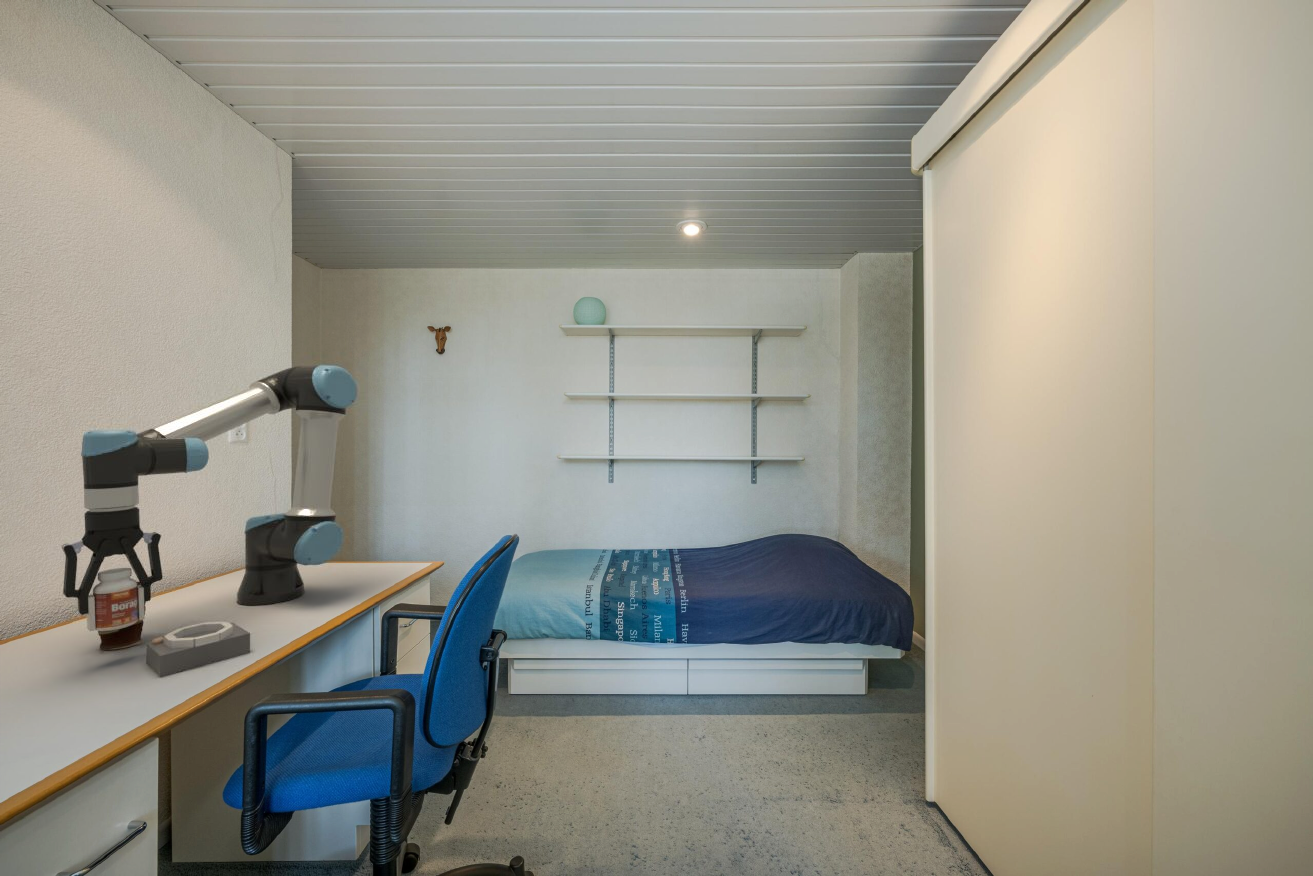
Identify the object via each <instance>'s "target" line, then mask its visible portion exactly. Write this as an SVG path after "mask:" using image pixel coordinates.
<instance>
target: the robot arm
mask: <svg viewBox="0 0 1313 876" xmlns="http://www.w3.org/2000/svg"><path fill="white" fill-rule="evenodd" d="M357 396H358V386H357V383H356V380H355V378H354V377H353V376H352V375H351V373H350V372H349V371H348V370H346V369H345V368H343V367H341V366H337V365H329V364H320V365H309V366H307V365H306V366H305V365H304V366H303V365H302V366H298V365H297V366H293V367H288V368H285V369H282V370H280V371H278V372H275V373H273V374H271V375H268V376H265V377H263V378H261V379H259V380H256V381H254V382H252V383H250V385H249V388H246V389H245V390H242V391H240V392H237V393H235V394H232V395H230V396H227V397H225V398H223V399H220V400H217V401H214V402H213V403H210V404H208V405H206V406H202V407H201V408H198V409H196V410H192V411H191V412H189V413H186V414H183V415H181V416H179V417H176V418H173V419H171V420H167V421H166V422H164V423H161V424H159V425H157V426H154V427H151V428H150V429H147V430H144V431H141V432H139V433H137V431H135V430H134V429H133V430H131V429H118V430H117V429H116V430H115V429H113V430H112V429H108V430H107V429H104V430H103V429H102V430H89V431H86V432H84V434H83V435H82V441H81V453H80V455H81V457H82V474H83V501H84V502H83V505H84V506H83V507H84V509H86V512H85V513H84V535H83V536H82V537H81V540H79V541H75V542H71V543H63V545H62V546H61V549H62V551H63V554H64V555H65V563H64V576H63V589H62V590H63V591H62V594H63V595H64V597H66V598H68V599H69V598H76V599H77V611H78V612H79V614H80V615H81V616H82V615H86V628H87V630H88V631H89V632H93V631H97V630H96V629H95V601H94V596H93V593H92V594H90V593H91V591H92V589H93V586H94V583H95V580H96V578H97V577H98V573H99V572H100V568H101V565H102V564H103V563H104V560H105V558H107V557H108V558H109V557H112V556H115V555H118V556H120V555H124V556H125V557H126V559H127V561H128V562H129V564H130V566H131V567H130V568H131V569H132V571H133V572H134V574H135V576H136V578H137V579H138V582H140V583H141V585H138V586H137V597H138V619H139V620H143V621H144V620H146V619H145V615H146V614H145V615H144V602H146V603H147V602H150V601H151V599H152V594H151V592H152V591H151V590H152V589H151V586H152V584H154V583H156V582H160V581H161V580H162V581H163V569H162V563H161V557H160V556H161V555H160V548H159V543H160V540H161V538H162V535H161V534H160V533H158V532H156V531H155V532H144V531H143V530H142V528H141V525H140V523H141V522H140V521H141V520H140V508H139V507H137V505H139V504H140V498H139V497H140V496H139V476H140V477H142V476H143V477H144V476H152V475H153V476H154V475H168V474H180V473H181V474H182V473H184V474H187V473H192V472H198V471H201V470H203V469H204V468H206V466H208V465H207V464H208V462H209V460H210V458H209V456H210V454H209V453H210V452H209V451H210V450H209V448H208V446H207V443H206V442H207V441H209V440H211V439H214V438H217V437H219V436H221V435H223V434H225V433H227V432H229V431H232V430H233V429H236V428H238V427H240V426H242V425H244V424H247V423H249V422H251V421H254V420H256V419H257V418H259V417H262V416H264V415H267V414H268V415H276V414H278V413H280V412H283V411H286V410H291V409H295V413H296V414H297V415H298V416H299V417H300V418H301V423H300V430H299V431H300V432H299V442H298V452H297V459H296V460H297V462H296V471H295V479H294V489H293V498H292V506H291V508H290V509H289V510H288V511H286V512H282V513H281V512H280V513H274V514H266V515H259V516H254V517H249V518H248V519H247V520H246V522H245V530H244V534H245V535H244V536H245V538H244V539H245V542H244V543H245V545H244V546H245V547H244V548H245V553H244V554H245V558H244V559H245V561H244V562H245V564H244V565H245V566H244V567H245V568H244V575H243V577H242V579H241V583H240V586H239V587H238V590H237V593H236V602H237V604H240V605H245V606H261V605H270V604H276V603H281V602H285V601H290V600H293V599H297V598H299V597H300V596H303V595H304V594H305V584H304V580H303V578H302V576H301V573H300V571H299V569H298V564H299V565H302V566H319V565H323V564H326V563H327V562H329V561H331V560H332V559H333V558H334V556H336V555H337V554H338V553H339V552H340V550H341V547H342V546H343V542H344V532H343V529H342V528H341V525H339V524H338V523H336V515H337V514H336V513H335V511H334V510H333V509H331V500H332V490H333V489H332V488H333V482H334V471H335V470H334V469H335V459H336V450H337V439H338V427H339V422H340V421H341V420H343V419H344V418H345V417H346V414H347V413H346V412H347V408H348V407H350V406H352V404H353V403H355V401H356V399H357ZM142 539H144V540H143V541H144V543H146V544H147V551H148V552H147V553H148V559H149V566H150V568H149V569H150V574H151V575H150V576H149V575H148V574H147V572H146V571H145V568H144V565H143V564H142V562H141V561H140V559H139V557H138V554H137V552H136V550H135V547H136V545H137V544H138V543H139V542H140V541H141V540H142ZM84 546H85V547H86V548H87V549H89V550H90V551H92V555H91V557H90V560H89V564H88V566H87V568H86V571H85V573H84V575H83V579H82V581H81V582H80V586H79V587H78V589H76V583H77V581H76V580H77V569H78V554H80V553H81V552H82V547H84Z"/></svg>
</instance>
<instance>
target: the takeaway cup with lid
mask: <svg viewBox="0 0 1313 876" xmlns="http://www.w3.org/2000/svg"><path fill="white" fill-rule="evenodd" d="M136 582H137V586H138V585H141V583H140V582H139V581H136ZM146 603H147V601H146V602H144V615H146V608H147V607H146ZM144 623H145V622H144V619H143V620H139V619H138V621H137V622H136V623H135V624H133V625H130V626H128V627H125V628H121V629H116V630H109V631H97V634H98V636H99V638H100V643H99V649H100V650H105V651H110V650H120V649H125V648H126V649H127V648H130V647H133V646H136V645H139V644H141V643H142V638H141V637H142V633H143V626H144Z"/></svg>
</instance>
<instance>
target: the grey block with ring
mask: <svg viewBox="0 0 1313 876" xmlns="http://www.w3.org/2000/svg"><path fill="white" fill-rule="evenodd" d="M145 646H146V647H145V648H146V650H145V651H146V653H145V658H146V659H145V662H146V663H145V664H146V665H147V666H148V667H149V668H151V670H152V671H153V672H155V674H156V675H157V676H159V678H161V677H166V676H168V675H172V674H176V673H179V672H184V671H186V670H190V669H191V670H192V669H194V668H198V667H201V666H204V665H210V664H212V663H215V662H219V661H223V660H227V659H231V658H234V657H238V656H241V655H245V654H249V653H251V633H250V632H249V631H248V630H246V629H244V628H242V627H241V626H239V625H238V624H236V623H234V622H231V623H230V622H228V621H210V622H209V621H206V622H201V623H197V624H192V625H187V626H183V627H179V628H177V629H175V630H172V631H171V632H168V633H167V634H165V635H164V637H162V636H160V637H154V638H152V641H149V642H146V643H145Z"/></svg>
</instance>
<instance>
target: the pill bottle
mask: <svg viewBox="0 0 1313 876" xmlns="http://www.w3.org/2000/svg"><path fill="white" fill-rule="evenodd" d="M132 571H133V570H132V567H120V568H119V567H118V568H110V569H105V570H102V571H98V573H97V580H98V582H99V583H97V584H96V585H95V586H94V587H92V595H93V596H94V601H95V629H96V630H95V631H97V632H98V631H109V630H116V629H121V628H125V627H128V626H130V625H133V624H135V623H136V622H137V621H138V597H137V582H138V581H137V580H135V579H134V578H131V576H132Z"/></svg>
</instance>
